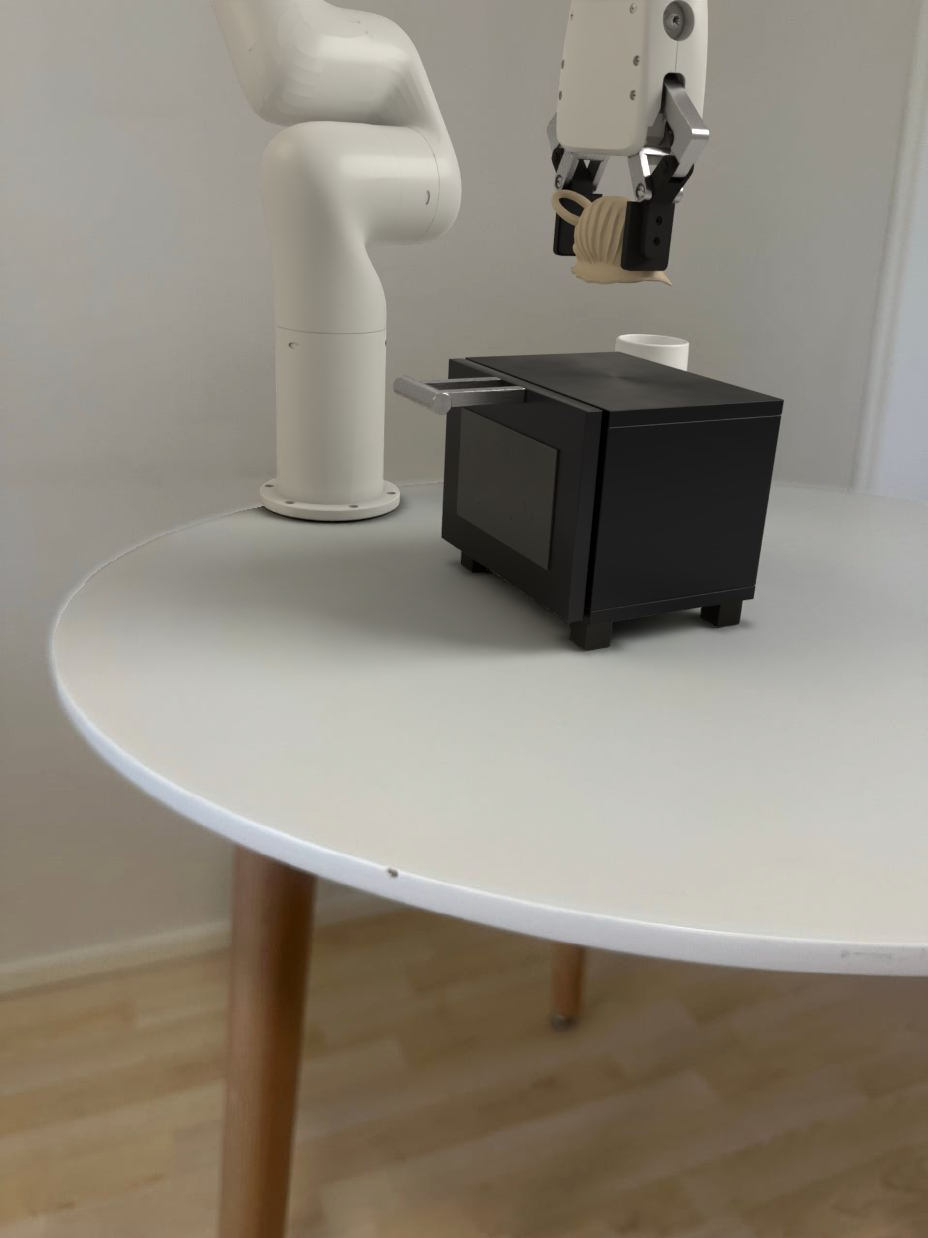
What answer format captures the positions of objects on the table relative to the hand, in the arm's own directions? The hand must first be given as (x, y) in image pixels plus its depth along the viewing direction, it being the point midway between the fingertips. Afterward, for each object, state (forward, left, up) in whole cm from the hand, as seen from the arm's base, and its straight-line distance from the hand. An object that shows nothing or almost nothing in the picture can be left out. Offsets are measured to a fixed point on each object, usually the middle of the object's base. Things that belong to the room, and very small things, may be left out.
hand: (607, 260), depth 75 cm
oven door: (-1, -9, -22) cm, 23 cm away
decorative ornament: (0, 0, -1) cm, 1 cm away
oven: (-1, +2, -24) cm, 24 cm away
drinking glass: (-21, +20, -24) cm, 38 cm away
